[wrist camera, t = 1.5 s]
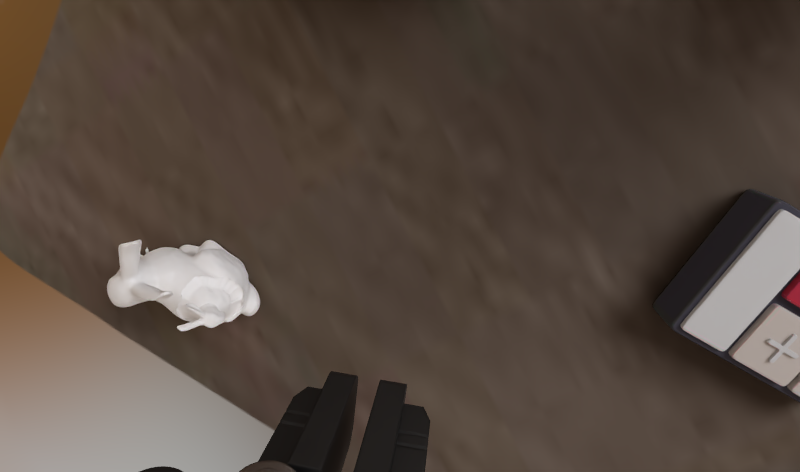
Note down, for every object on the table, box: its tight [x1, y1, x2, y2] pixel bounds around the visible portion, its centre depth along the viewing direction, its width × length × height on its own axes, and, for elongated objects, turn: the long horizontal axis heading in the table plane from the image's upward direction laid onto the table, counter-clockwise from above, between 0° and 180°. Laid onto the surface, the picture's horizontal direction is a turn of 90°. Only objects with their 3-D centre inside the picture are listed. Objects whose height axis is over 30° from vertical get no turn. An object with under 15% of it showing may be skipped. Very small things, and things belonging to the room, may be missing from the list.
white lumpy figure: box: [107, 240, 260, 331], centre depth 39 cm, size 12×8×10 cm, turn 63°
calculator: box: [653, 189, 800, 402], centre depth 36 cm, size 11×4×15 cm
